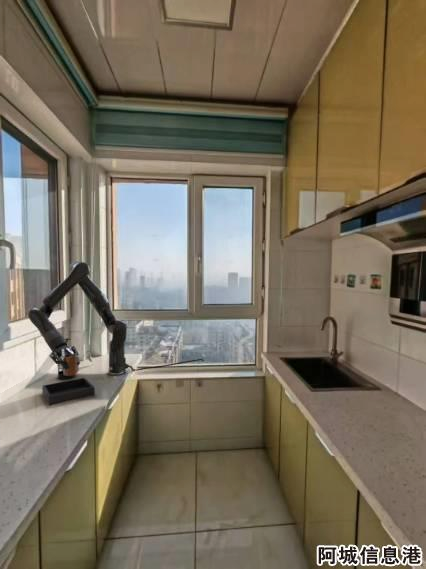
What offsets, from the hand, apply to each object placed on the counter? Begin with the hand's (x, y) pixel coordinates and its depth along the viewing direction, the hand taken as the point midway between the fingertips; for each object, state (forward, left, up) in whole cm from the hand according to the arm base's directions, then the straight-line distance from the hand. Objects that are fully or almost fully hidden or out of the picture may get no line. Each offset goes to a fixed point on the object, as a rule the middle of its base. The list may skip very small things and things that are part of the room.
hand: (73, 366), depth 139 cm
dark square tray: (+1, -4, -16) cm, 16 cm away
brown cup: (+1, -1, -4) cm, 4 cm away
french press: (-5, -33, -16) cm, 37 cm away
